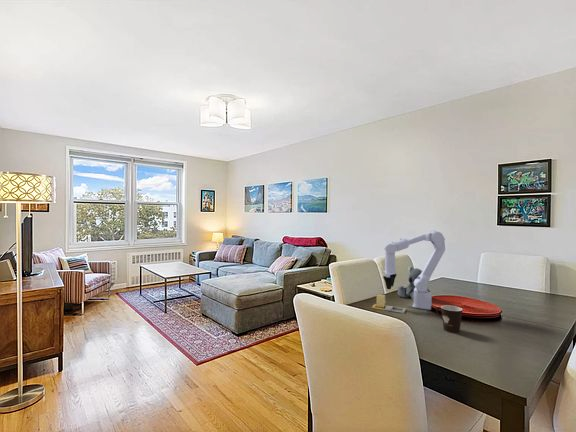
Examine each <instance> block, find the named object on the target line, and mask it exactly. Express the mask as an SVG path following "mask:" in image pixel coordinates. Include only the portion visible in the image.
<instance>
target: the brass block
mask: <svg viewBox="0 0 576 432" xmlns="http://www.w3.org/2000/svg"><path fill="white" fill-rule="evenodd" d="M375 302H376V303H375V304H376V307H378V308H385V305H386V295H385V294H380V293H379V294H378V293H377V295H376V301H375Z"/></svg>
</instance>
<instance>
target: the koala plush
mask: <svg viewBox="0 0 576 432" xmlns="http://www.w3.org/2000/svg"><path fill="white" fill-rule="evenodd" d="M407 269H408V282H409V284H408V285H407V287H406V288H405V287H404V286H403V285H399V286H398V289H397V295H398V296H399V297H400V298H403V299H404V298H405V299H411V300H412V302H414V289H415V286H414V280H415V279H416V278H418V276H419V275H420V274H421V273H422V271H423V269H420V268H418V267H417V268H416V267H415V268H414V267H412V266H410V265H409V266H408V267H407ZM427 291H428V292H431V290H430V289H429V288H428V289H427Z"/></svg>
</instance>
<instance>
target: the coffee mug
mask: <svg viewBox="0 0 576 432" xmlns="http://www.w3.org/2000/svg"><path fill="white" fill-rule="evenodd" d="M439 309H440V311H441V314H439V311H438V310H439ZM435 311H436V314H437V316H439V318H440V319H441V321H442V325H443V327H442V328H443V331H445V332H447V333H453V334H458V333H460V332H461V325H462V323H461V322H462V316H463V308H462V307H459V306H456V305H448V304H446V305H441V306H437V307H436V309H435Z"/></svg>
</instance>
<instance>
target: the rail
mask: <svg viewBox="0 0 576 432" xmlns="http://www.w3.org/2000/svg"><path fill="white" fill-rule="evenodd" d="M371 309H374V310H380V311H381V310H382V311H388V312H395V313H401V314H405V312H406V311H407V308H406V307H399V306H392V305H386V304H385V308H378V307H376V303H374V304H373V305H372V306H371Z"/></svg>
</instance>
